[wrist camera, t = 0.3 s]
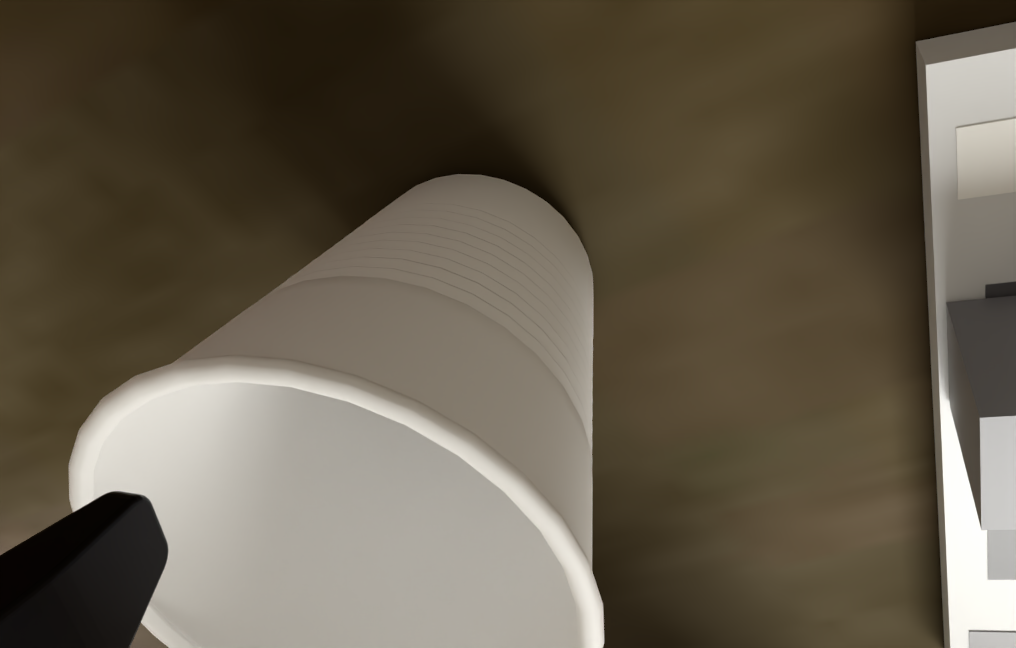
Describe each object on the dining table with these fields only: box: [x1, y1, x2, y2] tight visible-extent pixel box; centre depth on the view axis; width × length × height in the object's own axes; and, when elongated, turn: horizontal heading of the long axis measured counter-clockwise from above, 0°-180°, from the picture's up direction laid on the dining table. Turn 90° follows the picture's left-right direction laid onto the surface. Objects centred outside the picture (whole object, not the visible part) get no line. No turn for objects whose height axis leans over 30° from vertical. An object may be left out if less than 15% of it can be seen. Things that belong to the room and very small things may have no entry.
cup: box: [69, 174, 604, 648], centre depth 20 cm, size 10×10×11 cm
